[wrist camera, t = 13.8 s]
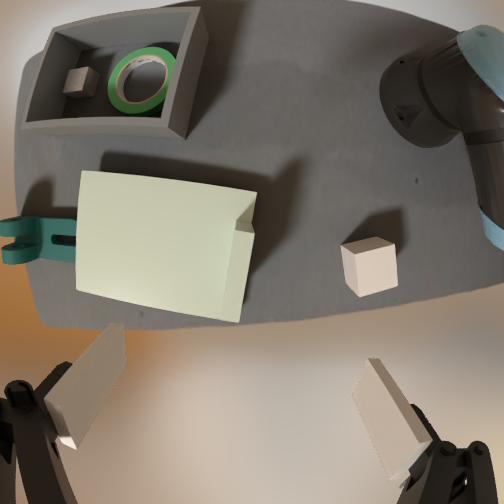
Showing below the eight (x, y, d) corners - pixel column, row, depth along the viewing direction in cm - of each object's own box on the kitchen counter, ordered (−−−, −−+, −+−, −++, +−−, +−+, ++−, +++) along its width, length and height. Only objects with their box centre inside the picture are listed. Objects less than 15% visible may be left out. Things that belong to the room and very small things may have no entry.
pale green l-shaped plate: (255, 191, 38) (261, 193, 27) (234, 313, 42) (233, 352, 31) (90, 170, 36) (49, 169, 25) (84, 283, 40) (49, 309, 29)
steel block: (100, 74, 33) (88, 66, 29) (94, 96, 34) (81, 90, 30) (81, 76, 33) (69, 69, 29) (75, 98, 34) (62, 92, 30)
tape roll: (108, 119, 35) (100, 115, 33) (122, 57, 33) (115, 50, 30) (176, 117, 36) (171, 112, 33) (187, 52, 33) (184, 44, 31)
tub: (209, 38, 32) (200, 6, 24) (185, 140, 36) (167, 127, 27) (79, 46, 31) (52, 27, 22) (54, 135, 35) (20, 129, 26)
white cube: (376, 236, 40) (394, 244, 34) (380, 273, 41) (397, 285, 35) (340, 244, 40) (354, 254, 34) (345, 282, 41) (359, 297, 35)
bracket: (23, 251, 39) (-4, 262, 32) (21, 215, 38) (-8, 222, 30) (95, 260, 40) (69, 274, 32) (94, 218, 38) (66, 225, 31)
